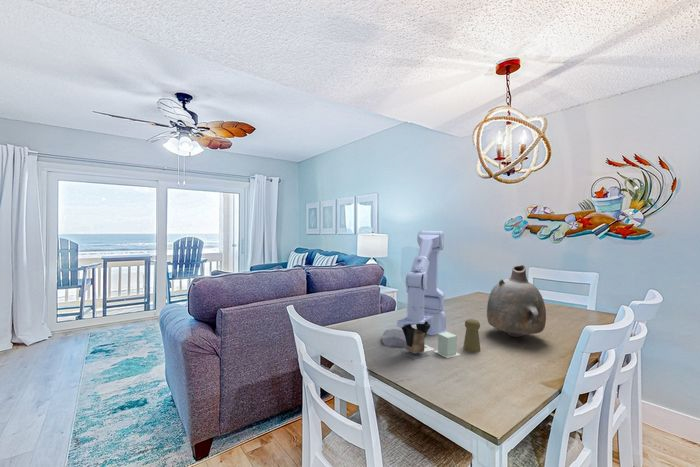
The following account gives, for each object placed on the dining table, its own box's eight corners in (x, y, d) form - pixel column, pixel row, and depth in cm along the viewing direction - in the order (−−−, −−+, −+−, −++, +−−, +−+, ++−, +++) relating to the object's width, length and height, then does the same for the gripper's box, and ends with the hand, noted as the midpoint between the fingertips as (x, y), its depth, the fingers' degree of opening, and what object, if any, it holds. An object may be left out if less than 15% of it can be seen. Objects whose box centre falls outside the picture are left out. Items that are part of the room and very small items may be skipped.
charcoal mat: (415, 348, 112) (415, 347, 112) (429, 356, 106) (429, 355, 106) (400, 352, 109) (400, 351, 109) (413, 360, 103) (413, 358, 103)
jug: (472, 331, 132) (474, 262, 132) (504, 324, 142) (506, 260, 141) (527, 352, 111) (529, 270, 110) (561, 343, 120) (563, 267, 120)
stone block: (382, 351, 115) (409, 348, 113) (380, 338, 115) (406, 335, 113) (384, 340, 126) (408, 338, 124) (382, 329, 127) (406, 326, 125)
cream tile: (422, 343, 117) (422, 343, 117) (434, 349, 112) (434, 349, 112) (409, 346, 114) (409, 346, 114) (421, 353, 109) (421, 352, 109)
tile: (446, 348, 113) (446, 348, 113) (460, 355, 108) (460, 354, 108) (433, 351, 110) (433, 351, 110) (447, 358, 104) (447, 358, 104)
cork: (480, 347, 115) (480, 318, 114) (481, 353, 109) (482, 323, 109) (462, 345, 117) (463, 316, 116) (463, 351, 111) (464, 321, 111)
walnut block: (415, 346, 110) (416, 328, 110) (424, 351, 107) (424, 332, 106) (405, 348, 108) (406, 330, 108) (414, 353, 104) (414, 335, 104)
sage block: (446, 349, 112) (447, 331, 112) (456, 354, 108) (456, 335, 108) (437, 351, 110) (438, 333, 110) (447, 356, 106) (447, 337, 106)
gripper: (406, 311, 100) (405, 352, 101) (439, 306, 107) (438, 344, 107) (393, 306, 106) (393, 344, 107) (425, 302, 113) (424, 338, 114)
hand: (414, 344), depth 107 cm, fingers closed on walnut block, 4 cm apart
